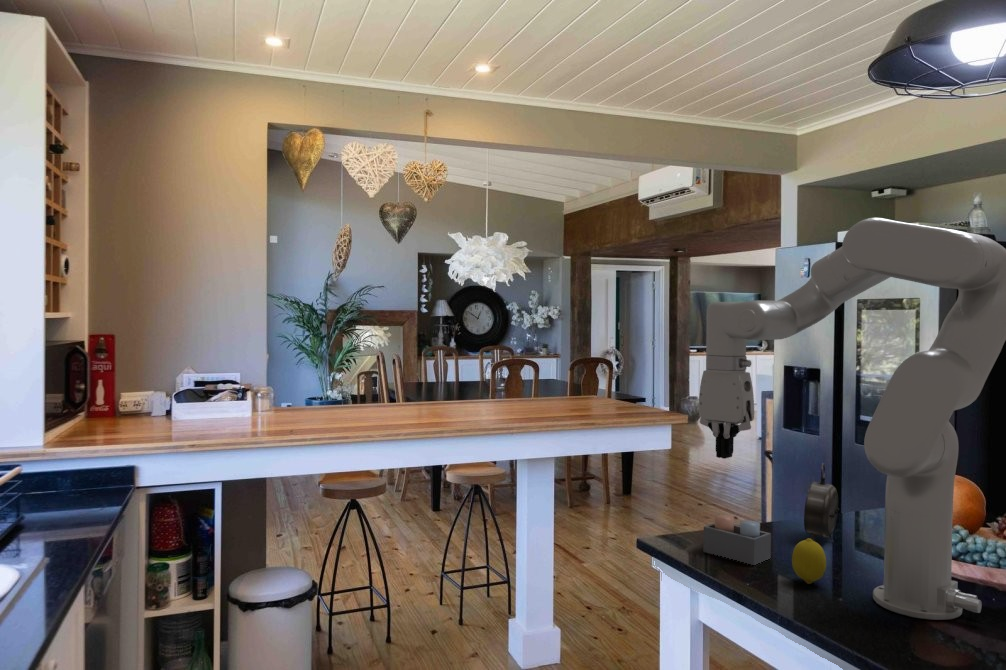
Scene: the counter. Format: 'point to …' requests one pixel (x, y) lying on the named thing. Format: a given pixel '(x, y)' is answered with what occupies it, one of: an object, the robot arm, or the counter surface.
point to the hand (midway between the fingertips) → (724, 457)
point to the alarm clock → (821, 508)
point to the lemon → (809, 560)
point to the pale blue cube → (750, 528)
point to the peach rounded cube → (724, 522)
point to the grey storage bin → (737, 545)
